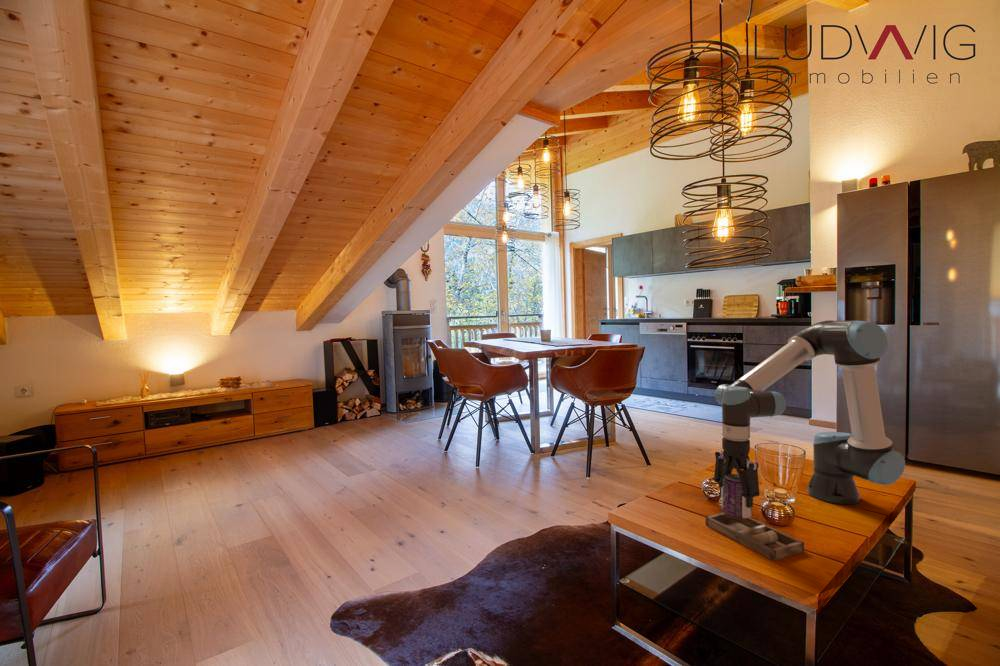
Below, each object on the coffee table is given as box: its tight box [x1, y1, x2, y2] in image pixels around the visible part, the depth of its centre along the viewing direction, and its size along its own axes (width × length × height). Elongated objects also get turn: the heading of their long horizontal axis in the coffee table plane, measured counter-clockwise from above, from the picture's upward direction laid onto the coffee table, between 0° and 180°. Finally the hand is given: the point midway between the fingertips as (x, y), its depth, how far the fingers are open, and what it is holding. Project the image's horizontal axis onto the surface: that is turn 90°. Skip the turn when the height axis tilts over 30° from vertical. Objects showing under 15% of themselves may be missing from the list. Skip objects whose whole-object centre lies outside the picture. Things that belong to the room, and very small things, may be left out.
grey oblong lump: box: [751, 531, 778, 545], centre depth 131 cm, size 7×3×3 cm
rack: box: [705, 512, 805, 562], centre depth 135 cm, size 12×23×4 cm, turn 22°
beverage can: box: [722, 473, 745, 519], centre depth 140 cm, size 7×7×12 cm
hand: (735, 511), depth 140 cm, fingers closed on beverage can, 7 cm apart
